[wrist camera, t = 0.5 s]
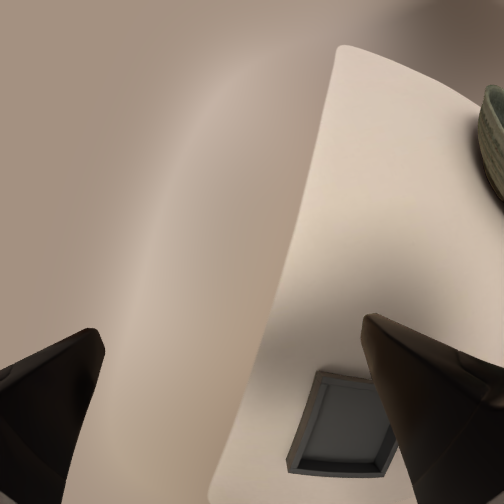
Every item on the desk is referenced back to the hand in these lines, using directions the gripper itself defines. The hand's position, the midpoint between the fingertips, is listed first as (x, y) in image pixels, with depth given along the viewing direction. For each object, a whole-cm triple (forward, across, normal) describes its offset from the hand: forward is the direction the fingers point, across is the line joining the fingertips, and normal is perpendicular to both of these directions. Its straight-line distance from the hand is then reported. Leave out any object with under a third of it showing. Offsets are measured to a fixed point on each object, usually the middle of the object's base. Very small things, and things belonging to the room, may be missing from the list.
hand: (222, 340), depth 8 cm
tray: (+7, -8, +16) cm, 19 cm away
